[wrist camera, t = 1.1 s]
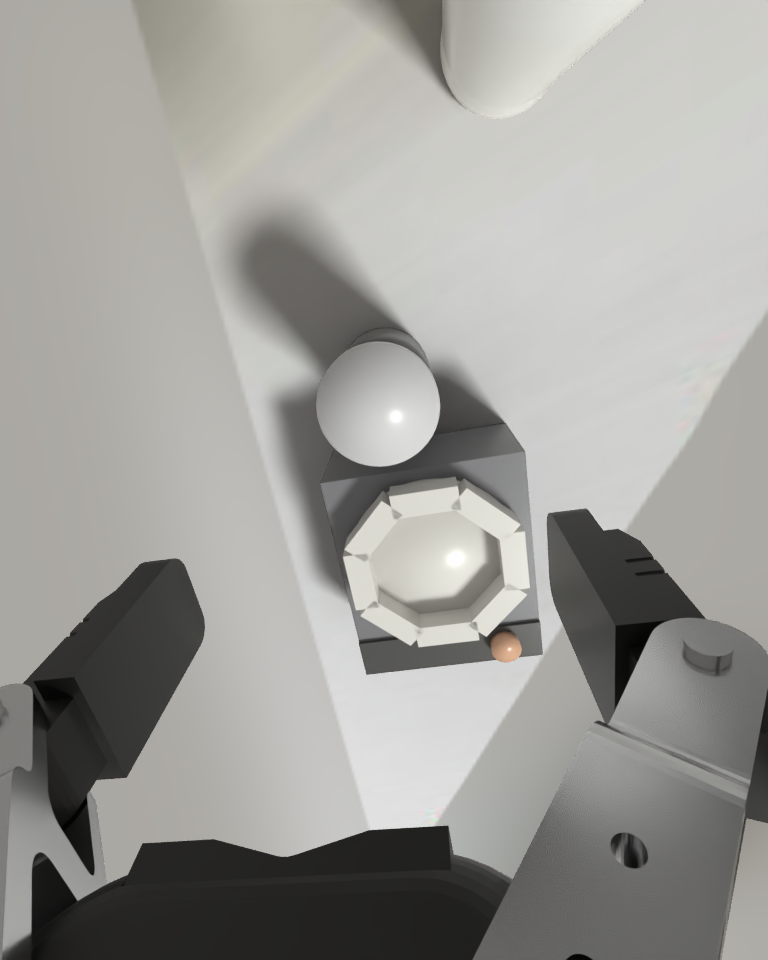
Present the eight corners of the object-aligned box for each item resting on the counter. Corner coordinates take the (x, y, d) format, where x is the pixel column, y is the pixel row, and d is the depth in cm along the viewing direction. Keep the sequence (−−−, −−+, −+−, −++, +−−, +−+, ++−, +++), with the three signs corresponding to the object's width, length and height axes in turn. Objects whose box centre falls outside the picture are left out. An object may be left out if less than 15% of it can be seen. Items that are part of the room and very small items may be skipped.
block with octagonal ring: (333, 451, 29) (314, 495, 23) (505, 423, 28) (532, 462, 22) (372, 617, 34) (364, 692, 28) (522, 598, 33) (549, 671, 27)
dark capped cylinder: (356, 311, 26) (337, 325, 19) (444, 345, 27) (459, 371, 19) (328, 399, 28) (301, 443, 21) (411, 429, 29) (413, 482, 21)
